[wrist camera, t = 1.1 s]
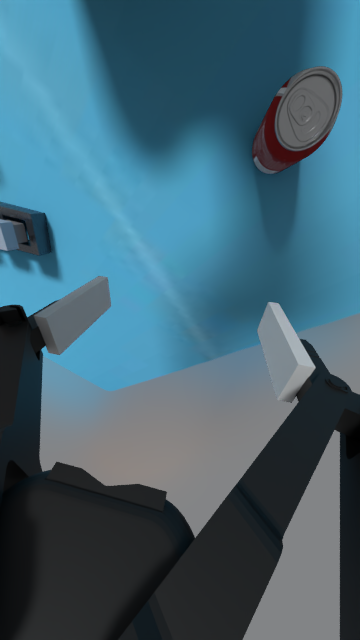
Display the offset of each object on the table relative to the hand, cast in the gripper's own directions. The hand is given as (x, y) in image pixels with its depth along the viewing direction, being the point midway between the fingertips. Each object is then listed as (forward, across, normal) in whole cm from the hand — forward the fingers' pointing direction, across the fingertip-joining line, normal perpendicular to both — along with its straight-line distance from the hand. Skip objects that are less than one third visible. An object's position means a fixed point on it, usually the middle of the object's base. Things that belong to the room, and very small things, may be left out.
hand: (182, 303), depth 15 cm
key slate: (+22, -38, -1) cm, 44 cm away
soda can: (+26, +8, +15) cm, 31 cm away
